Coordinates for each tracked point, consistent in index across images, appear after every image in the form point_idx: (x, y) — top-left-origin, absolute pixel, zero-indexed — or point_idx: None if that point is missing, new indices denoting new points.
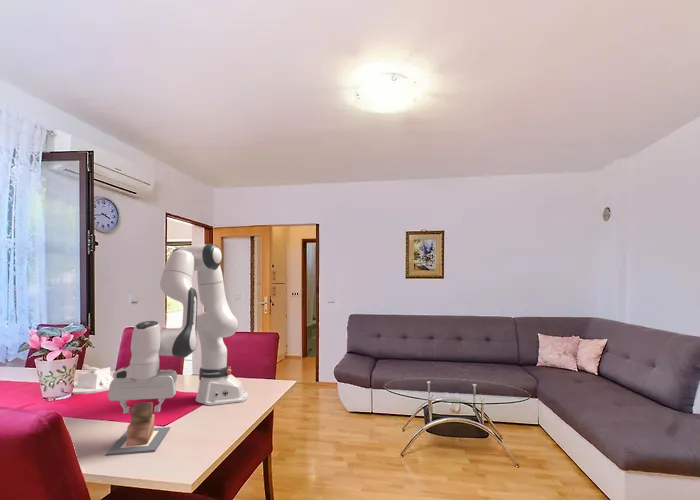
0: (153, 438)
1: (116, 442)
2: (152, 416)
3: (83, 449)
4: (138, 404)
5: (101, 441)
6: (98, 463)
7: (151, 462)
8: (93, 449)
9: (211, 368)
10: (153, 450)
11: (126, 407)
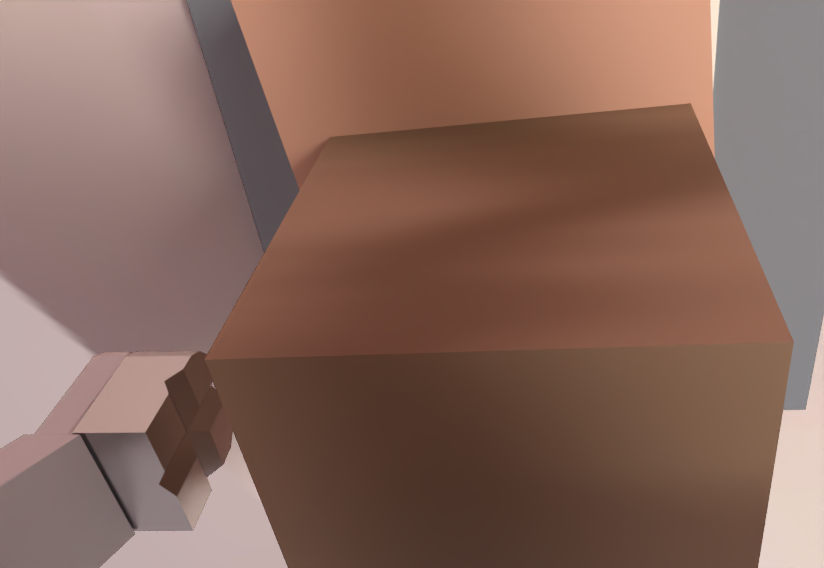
0: (713, 111)
1: (256, 194)
2: (691, 66)
3: (7, 262)
4: (351, 492)
5: (16, 79)
6: None
7: (803, 553)
8: (106, 273)
9: None
10: (784, 401)
11: (107, 495)
